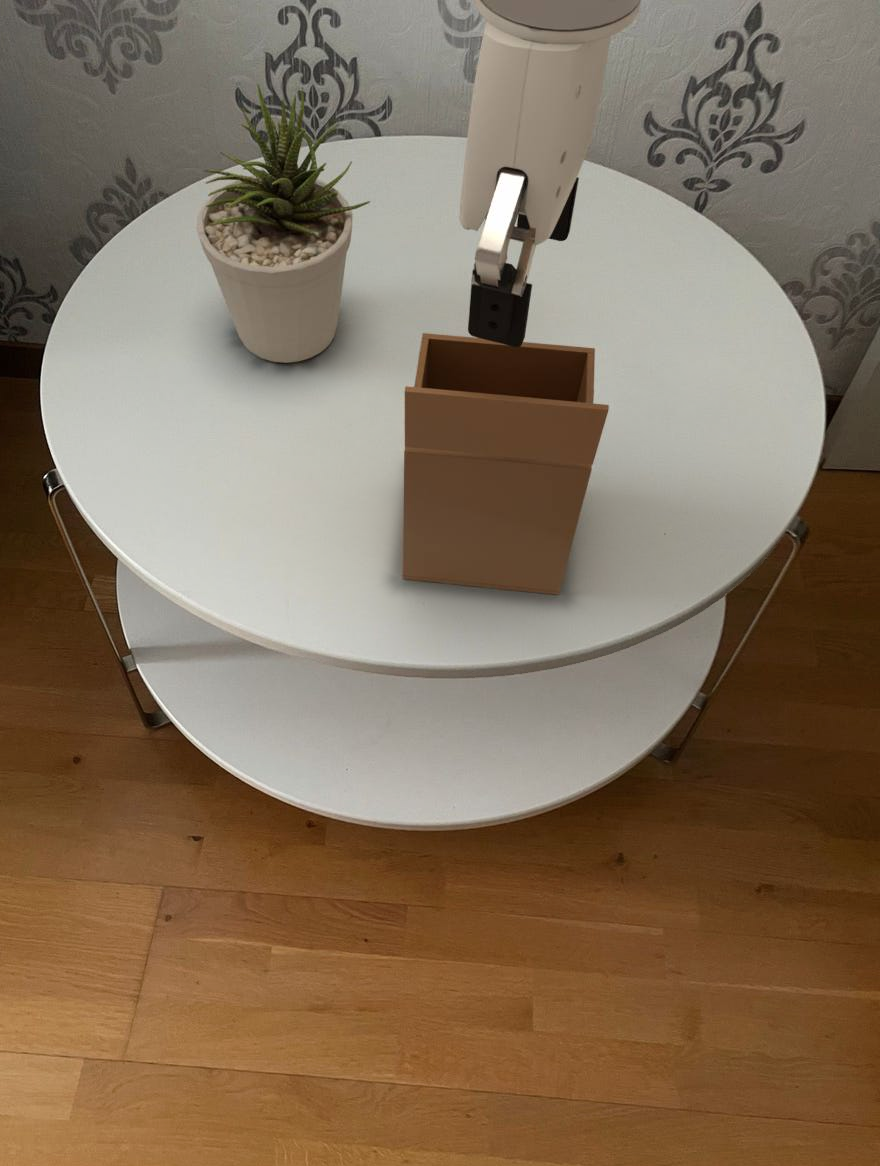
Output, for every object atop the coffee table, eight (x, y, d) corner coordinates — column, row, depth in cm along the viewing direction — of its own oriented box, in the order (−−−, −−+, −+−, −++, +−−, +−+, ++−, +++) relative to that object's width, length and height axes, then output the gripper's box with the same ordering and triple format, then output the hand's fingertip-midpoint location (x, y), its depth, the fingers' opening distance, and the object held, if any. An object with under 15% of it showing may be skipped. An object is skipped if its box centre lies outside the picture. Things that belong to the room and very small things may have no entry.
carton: (563, 483, 80) (595, 347, 68) (558, 595, 75) (591, 469, 62) (418, 469, 81) (422, 332, 68) (402, 579, 75) (404, 451, 63)
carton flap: (608, 404, 57) (608, 410, 57) (592, 459, 62) (592, 465, 62) (405, 385, 58) (404, 391, 57) (405, 442, 62) (404, 447, 62)
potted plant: (387, 360, 87) (385, 149, 70) (235, 394, 85) (195, 184, 68) (347, 271, 93) (337, 56, 76) (205, 300, 91) (161, 86, 74)
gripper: (533, -132, 48) (501, 185, 63) (415, 50, 40) (411, 367, 54) (684, -108, 47) (616, 210, 61) (595, 86, 38) (541, 401, 53)
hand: (520, 284), depth 58 cm, fingers open, 9 cm apart
